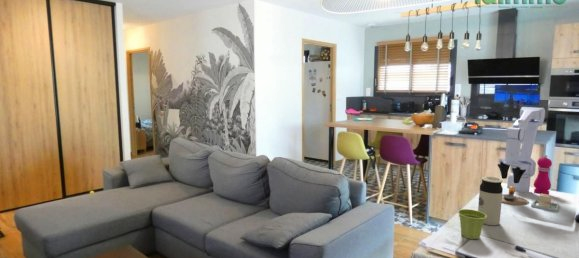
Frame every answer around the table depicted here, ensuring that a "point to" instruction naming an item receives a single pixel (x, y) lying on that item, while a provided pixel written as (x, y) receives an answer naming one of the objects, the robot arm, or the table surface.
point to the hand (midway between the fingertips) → (510, 180)
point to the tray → (545, 207)
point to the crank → (510, 193)
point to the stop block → (545, 200)
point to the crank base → (515, 201)
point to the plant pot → (471, 223)
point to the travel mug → (490, 199)
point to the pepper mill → (543, 176)
